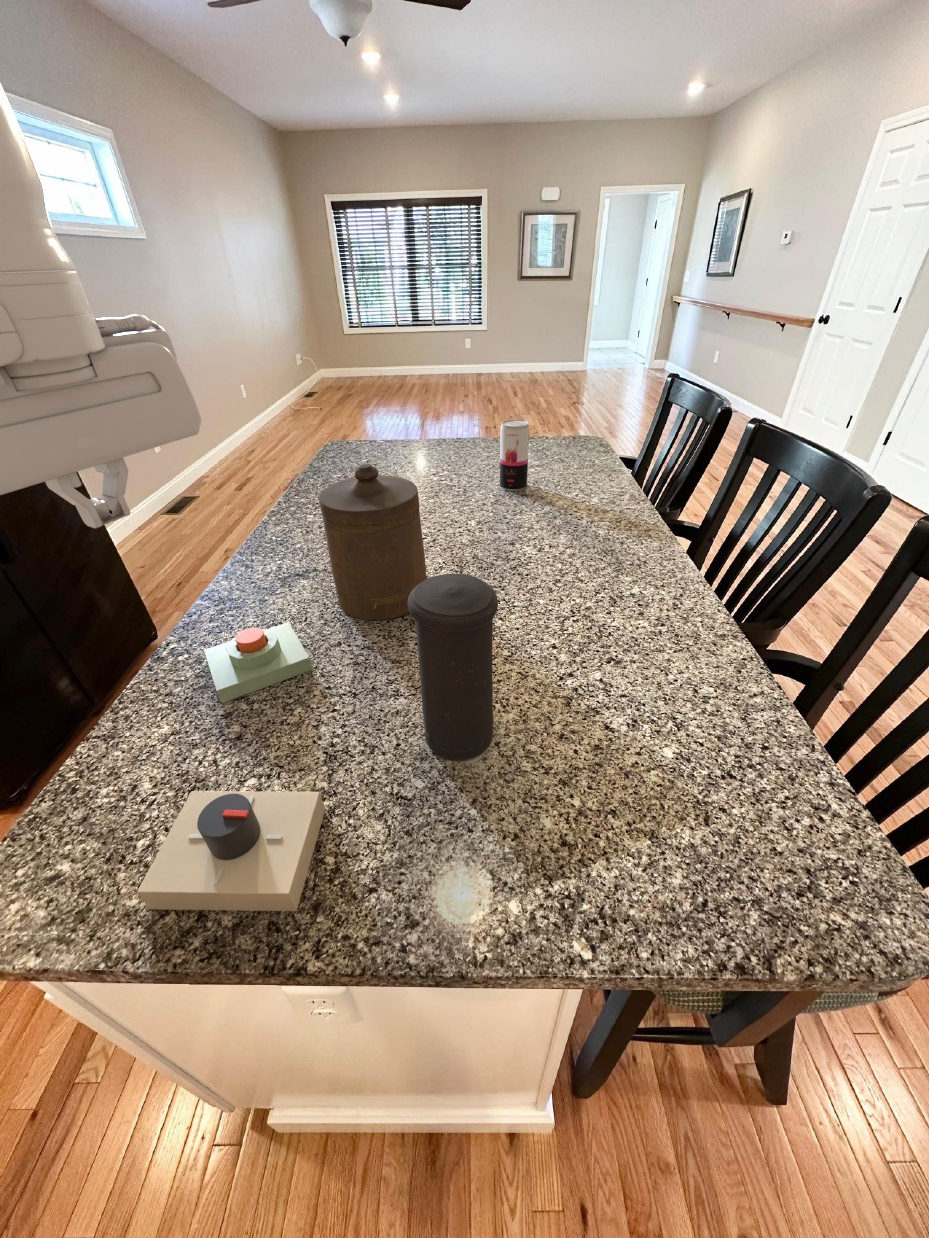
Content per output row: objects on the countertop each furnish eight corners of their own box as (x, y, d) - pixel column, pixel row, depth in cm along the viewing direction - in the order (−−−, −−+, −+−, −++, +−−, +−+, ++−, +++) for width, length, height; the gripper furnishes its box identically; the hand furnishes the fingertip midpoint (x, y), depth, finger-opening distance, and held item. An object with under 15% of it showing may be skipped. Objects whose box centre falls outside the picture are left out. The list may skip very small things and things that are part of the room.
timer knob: (200, 859, 45) (185, 834, 43) (223, 814, 49) (210, 790, 47) (248, 861, 45) (236, 836, 43) (267, 816, 49) (257, 791, 46)
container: (478, 698, 65) (476, 559, 54) (509, 750, 58) (513, 602, 47) (413, 718, 63) (396, 576, 51) (436, 773, 56) (422, 624, 44)
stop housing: (221, 703, 66) (211, 680, 63) (208, 661, 73) (199, 639, 70) (312, 669, 71) (306, 647, 68) (292, 633, 78) (286, 612, 75)
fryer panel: (150, 909, 45) (135, 890, 43) (201, 809, 53) (190, 789, 51) (296, 911, 44) (288, 892, 42) (325, 809, 52) (319, 790, 51)
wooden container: (393, 565, 94) (378, 444, 82) (445, 595, 85) (438, 465, 73) (321, 595, 86) (292, 467, 74) (371, 633, 77) (347, 493, 65)
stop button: (242, 657, 68) (238, 646, 67) (236, 643, 70) (232, 632, 69) (269, 647, 69) (266, 637, 68) (263, 634, 72) (259, 624, 71)
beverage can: (513, 493, 121) (515, 428, 113) (494, 486, 125) (494, 423, 117) (532, 486, 125) (535, 422, 116) (512, 479, 129) (514, 417, 120)
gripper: (136, 311, 43) (192, 474, 51) (-213, 346, 28) (-57, 567, 36) (186, 312, 40) (236, 484, 48) (-170, 350, 25) (-12, 587, 33)
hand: (109, 520), depth 42 cm, fingers closed
